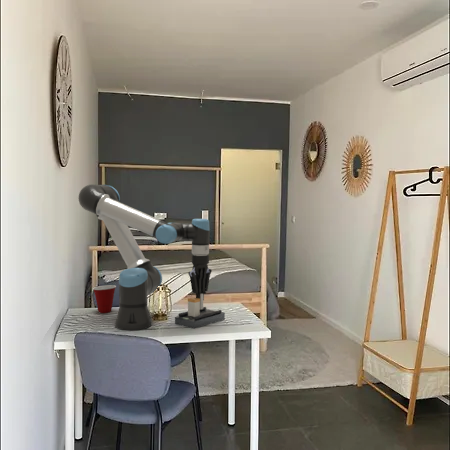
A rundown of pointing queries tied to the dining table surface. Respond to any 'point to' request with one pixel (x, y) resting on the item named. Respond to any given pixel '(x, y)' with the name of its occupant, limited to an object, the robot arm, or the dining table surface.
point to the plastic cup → (104, 297)
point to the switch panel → (199, 318)
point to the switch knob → (193, 307)
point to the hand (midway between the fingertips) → (199, 308)
